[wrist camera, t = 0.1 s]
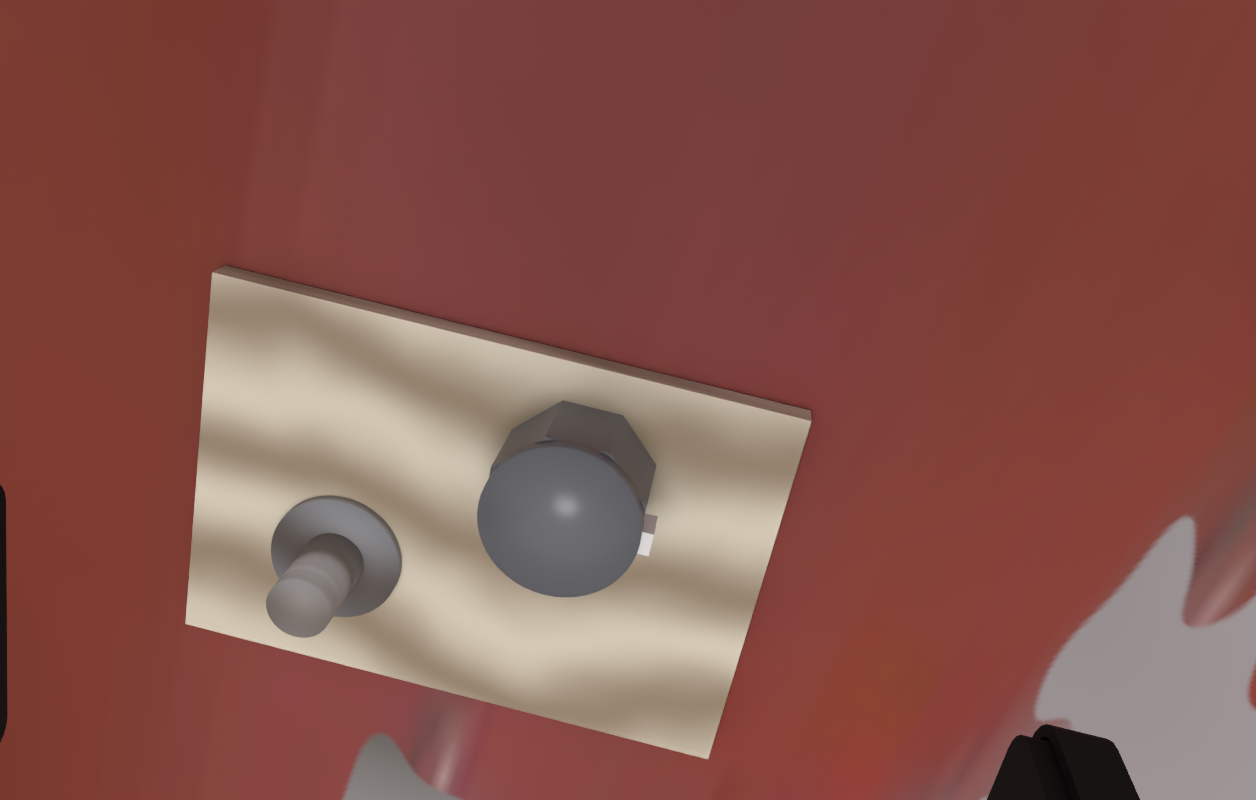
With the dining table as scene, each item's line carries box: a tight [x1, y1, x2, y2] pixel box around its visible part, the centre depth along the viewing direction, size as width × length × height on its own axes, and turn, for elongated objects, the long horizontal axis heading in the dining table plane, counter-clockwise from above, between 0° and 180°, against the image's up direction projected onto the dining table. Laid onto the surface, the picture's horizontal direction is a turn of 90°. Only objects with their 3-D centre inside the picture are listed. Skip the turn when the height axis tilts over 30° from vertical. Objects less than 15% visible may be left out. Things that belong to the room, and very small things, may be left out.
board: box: [185, 265, 811, 759], centre depth 49 cm, size 18×26×6 cm
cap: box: [477, 400, 658, 598], centre depth 46 cm, size 7×7×5 cm
